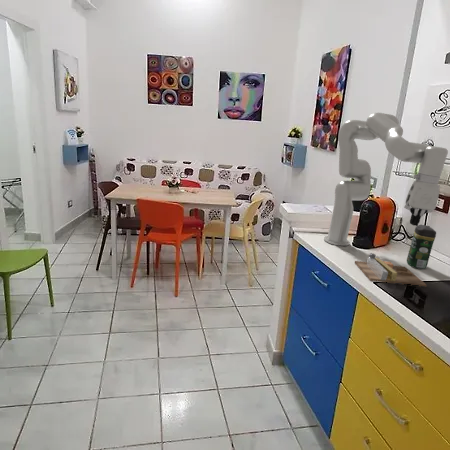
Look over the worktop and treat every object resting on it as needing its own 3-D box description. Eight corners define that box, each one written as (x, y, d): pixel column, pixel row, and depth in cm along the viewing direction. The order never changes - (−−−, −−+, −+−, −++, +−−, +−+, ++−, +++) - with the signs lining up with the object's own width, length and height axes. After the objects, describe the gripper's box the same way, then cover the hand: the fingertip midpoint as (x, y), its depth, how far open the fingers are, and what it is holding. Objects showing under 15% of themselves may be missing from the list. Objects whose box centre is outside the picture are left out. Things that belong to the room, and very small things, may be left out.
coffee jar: (404, 260, 164) (414, 222, 159) (422, 263, 162) (433, 225, 157) (408, 267, 155) (419, 227, 150) (427, 271, 153) (439, 230, 148)
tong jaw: (372, 265, 149) (374, 257, 148) (376, 265, 149) (378, 258, 148) (390, 280, 135) (392, 272, 134) (395, 281, 135) (397, 273, 134)
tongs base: (364, 262, 152) (366, 252, 151) (372, 263, 152) (374, 253, 151) (380, 280, 135) (383, 269, 134) (389, 281, 135) (392, 270, 134)
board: (354, 262, 153) (355, 258, 152) (404, 268, 153) (405, 264, 153) (369, 280, 136) (370, 275, 135) (426, 287, 136) (427, 282, 135)
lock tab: (381, 268, 146) (382, 261, 146) (388, 269, 147) (390, 261, 146) (383, 271, 144) (386, 263, 143) (391, 272, 144) (393, 264, 143)
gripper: (413, 178, 131) (399, 225, 136) (452, 184, 131) (437, 230, 137) (403, 175, 138) (391, 219, 144) (441, 180, 138) (427, 224, 144)
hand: (413, 224), depth 140 cm, fingers closed
